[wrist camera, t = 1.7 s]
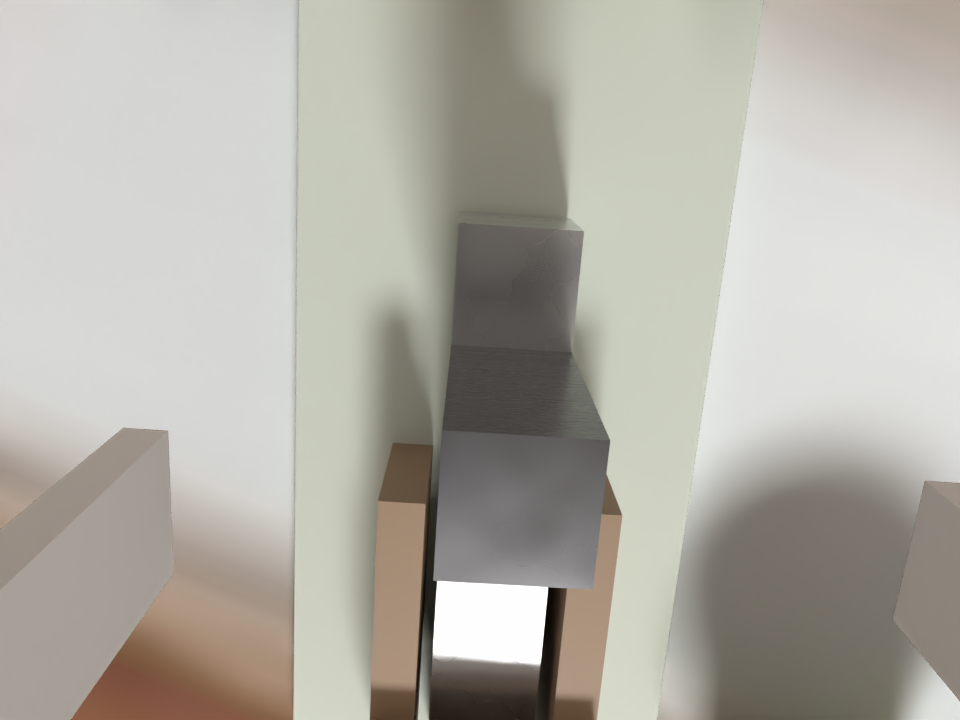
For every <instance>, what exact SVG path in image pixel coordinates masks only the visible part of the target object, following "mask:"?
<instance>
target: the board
mask: <svg viewBox="0 0 960 720" xmlns="http://www.w3.org/2000/svg"><path fill="white" fill-rule="evenodd" d="M762 7H763V0H299V50H298V185H297V321H296V456H295V591H294V720H429V707H430V691H431V674H432V657H433V641H434V624H435V607H436V591H437V581H433V575H434V558H435V541H436V524H437V507H438V490H439V473H440V455H441V438H442V425H443V416H444V407H445V398H446V388H447V379H448V370H449V361H450V352H451V340H452V324H453V307H454V290H455V274H456V257H457V240H458V224H459V217H460V211H471V212H486V213H500V214H515V215H530V216H545V217H560V218H570V219H571V220H573V221H574V222H575V223H576V224H577V225H578V226H579V227H580V228H581V229H582V230H583V231H584V238H583V247H582V257H581V267H580V277H579V287H578V297H577V307H576V317H575V327H574V336H573V346H572V354H573V356H574V358H575V361H576V363H577V365H578V368H579V370H580V372H581V374H582V377H583V379H584V381H585V384H586V386H587V388H588V391H589V393H590V395H591V397H592V400H593V402H594V404H595V407H596V409H597V411H598V413H599V416H600V418H601V420H602V423H603V425H604V427H605V429H606V432H607V434H608V436H609V439H610V448H609V456H608V465H607V473H606V482H605V490H604V499H603V507H602V516H601V524H600V533H599V541H598V550H597V558H596V567H595V575H594V584H593V590H588V589H570V588H553V587H548V594H547V603H546V613H545V623H544V633H543V643H542V653H541V663H540V673H539V683H538V692H537V702H536V712H535V720H657V714H658V707H659V700H660V694H661V687H662V680H663V673H664V667H665V660H666V653H667V646H668V640H669V633H670V626H671V619H672V613H673V606H674V599H675V593H676V586H677V579H678V572H679V566H680V559H681V552H682V545H683V539H684V532H685V525H686V518H687V512H688V505H689V498H690V492H691V485H692V478H693V471H694V465H695V458H696V451H697V444H698V438H699V431H700V424H701V417H702V411H703V404H704V397H705V390H706V384H707V377H708V370H709V364H710V357H711V350H712V343H713V337H714V330H715V323H716V316H717V310H718V303H719V296H720V289H721V283H722V276H723V269H724V263H725V256H726V249H727V242H728V236H729V229H730V222H731V215H732V209H733V202H734V195H735V188H736V182H737V175H738V168H739V161H740V155H741V148H742V141H743V135H744V128H745V121H746V114H747V108H748V101H749V94H750V87H751V81H752V74H753V67H754V60H755V54H756V47H757V40H758V34H759V27H760V20H761V13H762Z"/></svg>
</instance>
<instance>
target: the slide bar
mask: <svg viewBox="0 0 960 720" xmlns="http://www.w3.org/2000/svg"><path fill="white" fill-rule="evenodd" d="M583 238H584V231H583V230H582V229H581V228H580V227H579V226H578V225H577V224H576V223H575V222H574V221H573V220H571V219H570V218H560V217H545V216H530V215H515V214H500V213H486V212H471V211H460V217H459V224H458V240H457V257H456V274H455V290H454V307H453V324H452V340H451V352H450V361H449V370H448V379H447V388H446V398H445V407H444V416H443V425H442V438H441V455H440V473H439V490H438V507H437V524H436V541H435V558H434V575H433V581H437V591H436V607H435V624H434V641H433V657H432V674H431V691H430V707H429V720H535V712H536V702H537V692H538V683H539V673H540V663H541V653H542V643H543V633H544V623H545V613H546V603H547V594H548V587H553V588H570V589H588V590H593V584H594V575H595V567H596V558H597V550H598V541H599V533H600V524H601V516H602V507H603V499H604V490H605V482H606V473H607V465H608V456H609V448H610V439H609V436H608V434H607V432H606V429H605V427H604V425H603V423H602V420H601V418H600V416H599V413H598V411H597V409H596V407H595V404H594V402H593V400H592V397H591V395H590V393H589V391H588V388H587V386H586V384H585V381H584V379H583V377H582V374H581V372H580V370H579V368H578V365H577V363H576V361H575V358H574V356H573V354H572V346H573V336H574V327H575V317H576V307H577V297H578V287H579V277H580V267H581V257H582V247H583Z"/></svg>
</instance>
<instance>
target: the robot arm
mask: <svg viewBox="0 0 960 720" xmlns="http://www.w3.org/2000/svg"><path fill="white" fill-rule="evenodd" d="M173 573H174V570H173V544H172V518H171V492H170V466H169V440H168V431H165V430H150V429H134V428H123V429H121V430H120V431H119V432H118V433H117V434H115V435H114V436H113V437H112V438H111V439H109V440H108V441H107V442H106V443H104V444H103V445H102V446H101V447H100V448H98V449H97V450H96V451H95V452H94V453H92V454H91V455H90V456H89V457H88V458H86V459H85V460H84V461H83V462H81V463H80V464H79V465H78V466H77V467H75V468H74V469H73V470H72V471H71V472H69V473H68V474H67V475H66V476H65V477H63V478H62V479H61V480H60V481H58V482H57V483H56V484H55V485H54V486H52V487H51V488H50V489H49V490H48V491H46V492H45V493H44V494H43V495H41V496H40V497H39V498H38V499H37V500H35V501H34V502H33V503H32V504H31V505H29V506H28V507H27V508H26V509H25V510H23V511H22V512H21V513H20V514H18V515H17V516H16V517H15V518H14V519H12V520H11V521H10V522H9V523H8V524H6V525H5V526H4V527H3V528H2V529H0V720H71V718H72V717H73V715H74V714H75V713H76V711H77V710H78V708H79V707H80V705H81V704H82V703H83V701H84V700H85V698H86V697H87V696H88V694H89V693H90V691H91V690H92V688H93V687H94V686H95V684H96V683H97V681H98V680H99V678H100V677H101V676H102V674H103V673H104V671H105V670H106V669H107V667H108V666H109V664H110V663H111V661H112V660H113V659H114V657H115V656H116V654H117V653H118V651H119V650H120V649H121V647H122V646H123V644H124V643H125V642H126V640H127V639H128V637H129V636H130V634H131V633H132V632H133V630H134V629H135V627H136V626H137V625H138V623H139V622H140V620H141V619H142V617H143V616H144V615H145V613H146V612H147V610H148V609H149V607H150V606H151V605H152V603H153V602H154V600H155V599H156V598H157V596H158V595H159V593H160V592H161V590H162V589H163V588H164V586H165V585H166V583H167V582H168V580H169V579H170V578H171V576H172V575H173ZM893 621H894V622H895V623H896V624H897V625H898V627H899V628H900V629H901V630H902V632H903V633H904V634H905V635H906V636H907V638H908V639H909V640H910V641H911V642H912V644H913V645H914V646H915V647H916V649H917V650H918V651H919V652H920V653H921V655H922V656H923V657H924V658H925V660H926V661H927V662H928V663H929V664H930V666H931V667H932V668H933V669H934V670H935V672H936V673H937V674H938V675H939V677H940V678H941V679H942V680H943V681H944V683H945V684H946V685H947V686H948V687H949V689H950V690H951V691H952V692H953V694H954V695H955V696H956V697H957V698H958V700H959V701H960V483H950V482H935V481H925V483H924V487H923V492H922V496H921V500H920V504H919V509H918V513H917V517H916V522H915V526H914V530H913V534H912V539H911V543H910V547H909V552H908V556H907V560H906V564H905V569H904V573H903V577H902V581H901V586H900V590H899V594H898V599H897V603H896V607H895V611H894V616H893Z"/></svg>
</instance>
